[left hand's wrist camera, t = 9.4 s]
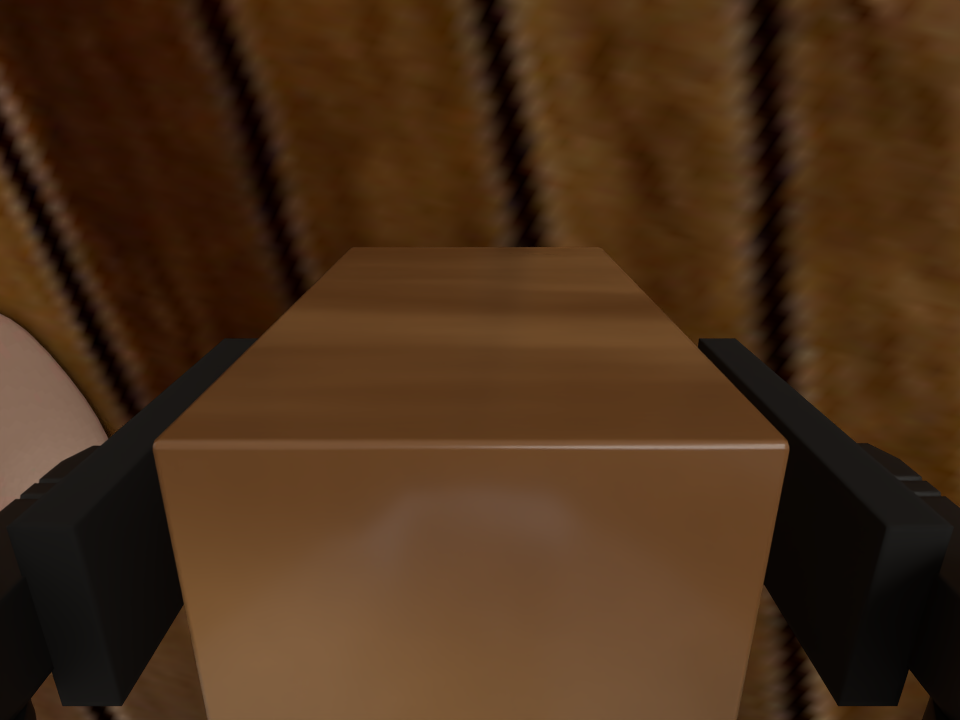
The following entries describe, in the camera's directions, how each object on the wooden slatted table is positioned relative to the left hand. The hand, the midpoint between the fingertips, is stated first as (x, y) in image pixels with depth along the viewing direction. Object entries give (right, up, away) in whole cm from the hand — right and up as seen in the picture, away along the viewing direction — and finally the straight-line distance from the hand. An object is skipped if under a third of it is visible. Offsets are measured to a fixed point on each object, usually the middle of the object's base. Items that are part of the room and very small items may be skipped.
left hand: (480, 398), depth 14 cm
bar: (0, -10, +5) cm, 11 cm away
